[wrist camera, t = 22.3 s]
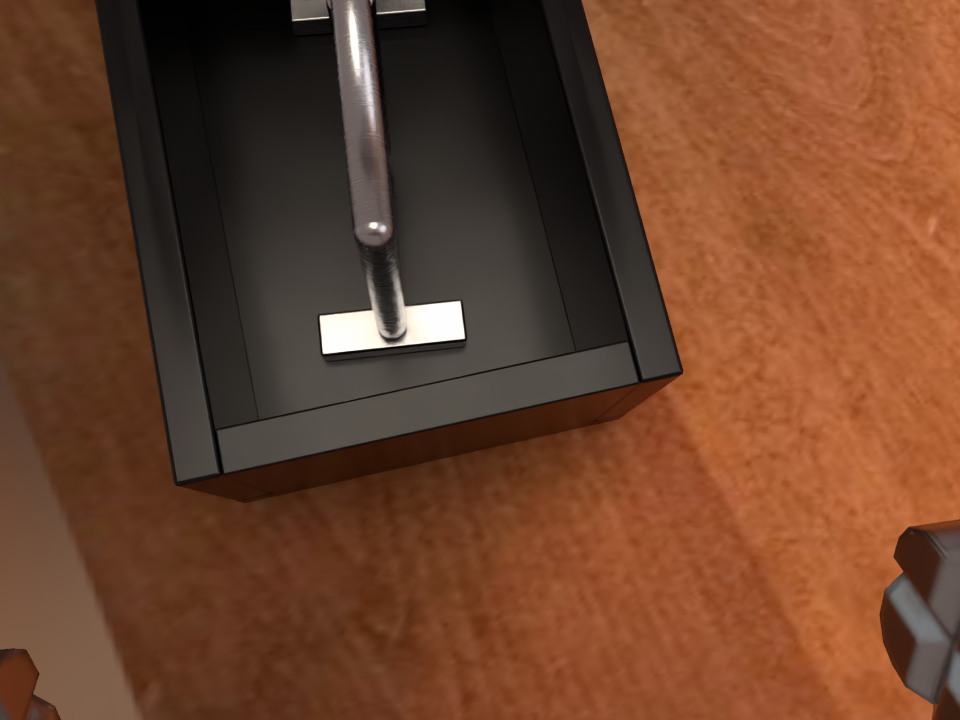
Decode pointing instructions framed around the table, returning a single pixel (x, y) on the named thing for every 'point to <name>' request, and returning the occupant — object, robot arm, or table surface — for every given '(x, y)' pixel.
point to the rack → (373, 186)
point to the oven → (420, 232)
